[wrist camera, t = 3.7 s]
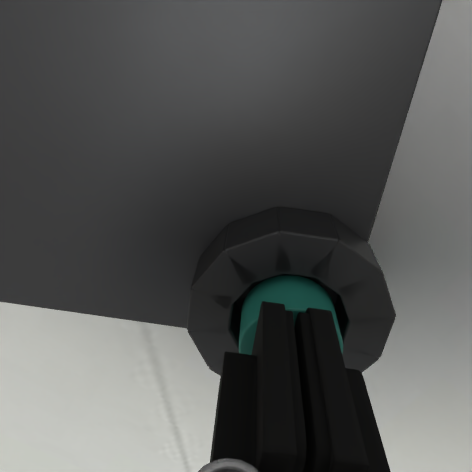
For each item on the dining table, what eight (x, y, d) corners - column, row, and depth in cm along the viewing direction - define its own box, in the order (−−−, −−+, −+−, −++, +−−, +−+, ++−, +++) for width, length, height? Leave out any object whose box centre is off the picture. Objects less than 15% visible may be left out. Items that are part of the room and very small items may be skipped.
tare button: (344, 281, 11) (355, 317, 10) (323, 354, 12) (330, 396, 11) (248, 267, 11) (246, 301, 10) (236, 341, 12) (232, 381, 11)
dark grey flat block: (473, -84, 10) (568, -135, 7) (342, 332, 16) (362, 409, 12) (-142, -172, 10) (-331, -265, 7) (-46, 277, 16) (-123, 340, 12)
